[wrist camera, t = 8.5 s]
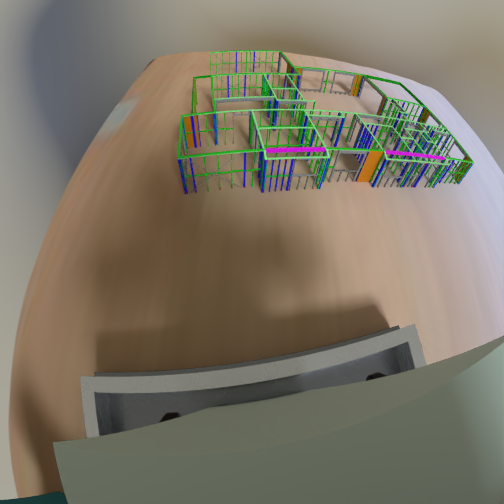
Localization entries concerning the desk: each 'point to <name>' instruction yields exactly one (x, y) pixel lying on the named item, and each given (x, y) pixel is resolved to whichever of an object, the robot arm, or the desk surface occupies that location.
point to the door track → (241, 380)
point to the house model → (374, 156)
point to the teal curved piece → (39, 499)
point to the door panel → (315, 445)
